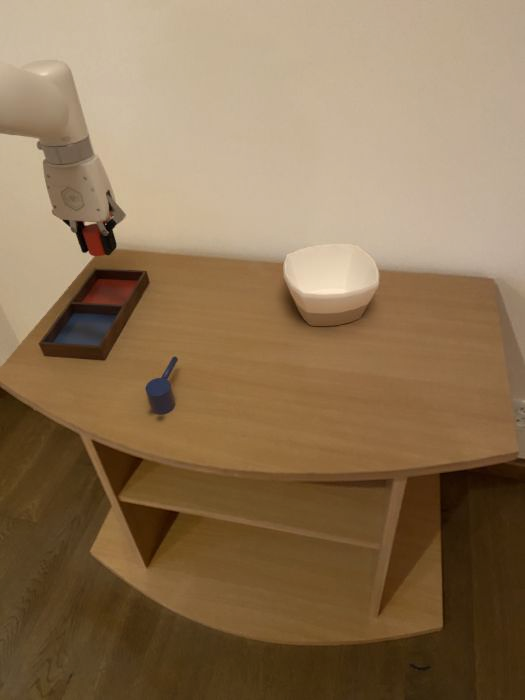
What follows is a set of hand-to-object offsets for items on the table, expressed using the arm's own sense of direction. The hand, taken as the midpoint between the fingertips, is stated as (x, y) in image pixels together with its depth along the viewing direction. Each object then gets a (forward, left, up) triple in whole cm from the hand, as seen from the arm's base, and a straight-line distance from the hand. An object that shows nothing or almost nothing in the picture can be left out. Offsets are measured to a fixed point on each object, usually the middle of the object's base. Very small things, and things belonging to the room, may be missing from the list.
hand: (99, 249), depth 93 cm
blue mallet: (0, -26, -15) cm, 30 cm away
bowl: (+36, -22, -16) cm, 45 cm away
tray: (-3, +2, -15) cm, 16 cm away
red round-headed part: (+2, +2, 0) cm, 3 cm away
